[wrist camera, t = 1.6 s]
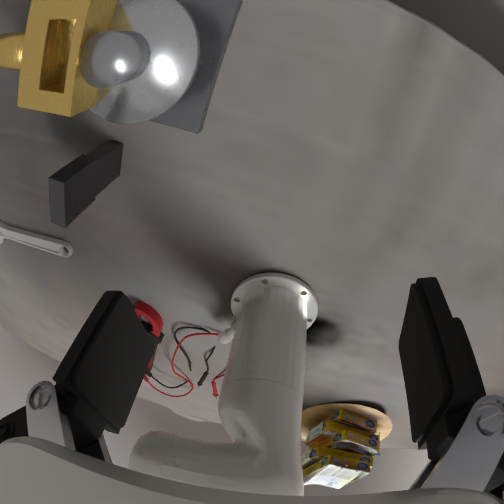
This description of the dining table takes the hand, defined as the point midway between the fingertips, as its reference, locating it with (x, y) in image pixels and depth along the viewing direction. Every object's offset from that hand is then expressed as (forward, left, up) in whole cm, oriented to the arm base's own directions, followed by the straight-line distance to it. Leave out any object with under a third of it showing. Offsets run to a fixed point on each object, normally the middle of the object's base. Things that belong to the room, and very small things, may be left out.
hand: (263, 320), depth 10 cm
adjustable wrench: (-45, +20, -27) cm, 56 cm away
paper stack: (-34, -60, -27) cm, 74 cm away
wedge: (-18, +12, -26) cm, 34 cm away
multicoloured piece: (-6, +20, -26) cm, 34 cm away
